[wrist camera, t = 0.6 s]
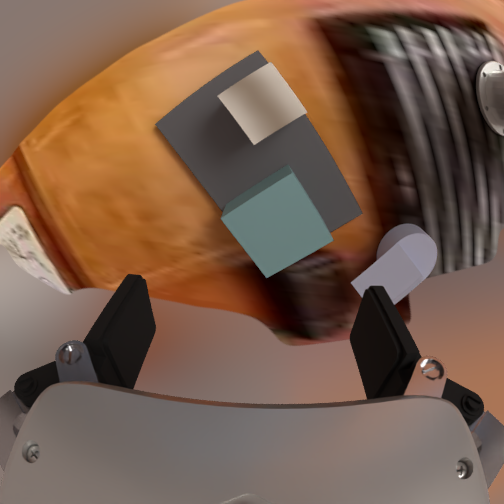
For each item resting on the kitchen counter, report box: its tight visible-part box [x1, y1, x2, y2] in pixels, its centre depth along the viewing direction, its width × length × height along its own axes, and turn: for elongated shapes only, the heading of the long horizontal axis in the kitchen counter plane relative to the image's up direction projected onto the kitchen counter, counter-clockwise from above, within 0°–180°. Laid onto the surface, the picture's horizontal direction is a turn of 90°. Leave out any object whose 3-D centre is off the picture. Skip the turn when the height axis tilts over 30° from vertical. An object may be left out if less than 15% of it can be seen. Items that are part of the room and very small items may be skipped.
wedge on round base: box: [351, 224, 437, 305], centre depth 35 cm, size 9×7×13 cm
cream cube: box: [218, 62, 307, 145], centre depth 25 cm, size 6×6×6 cm
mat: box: [155, 51, 363, 232], centre depth 32 cm, size 15×24×1 cm, turn 35°
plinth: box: [221, 165, 334, 278], centre depth 32 cm, size 9×9×5 cm
